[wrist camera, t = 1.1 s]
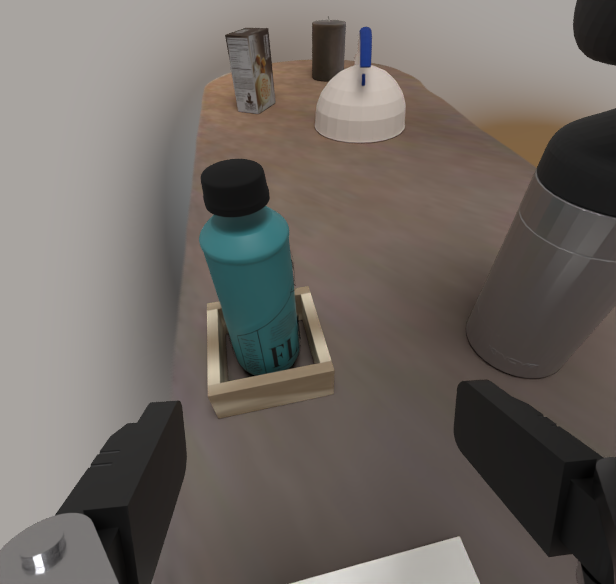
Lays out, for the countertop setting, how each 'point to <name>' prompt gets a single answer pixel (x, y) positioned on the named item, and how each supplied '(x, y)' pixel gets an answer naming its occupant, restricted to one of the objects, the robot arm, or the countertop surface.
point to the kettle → (361, 101)
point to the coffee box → (251, 69)
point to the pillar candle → (327, 48)
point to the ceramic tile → (409, 568)
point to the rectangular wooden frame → (271, 386)
